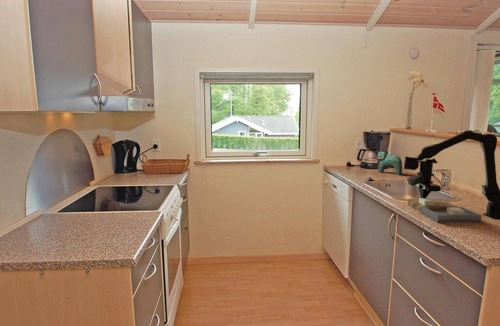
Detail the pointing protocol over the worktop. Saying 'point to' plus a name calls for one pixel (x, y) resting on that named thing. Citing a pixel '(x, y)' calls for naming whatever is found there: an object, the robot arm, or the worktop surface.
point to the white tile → (454, 210)
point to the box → (452, 216)
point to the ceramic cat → (389, 162)
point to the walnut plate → (437, 206)
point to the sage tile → (426, 201)
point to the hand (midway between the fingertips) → (422, 200)
